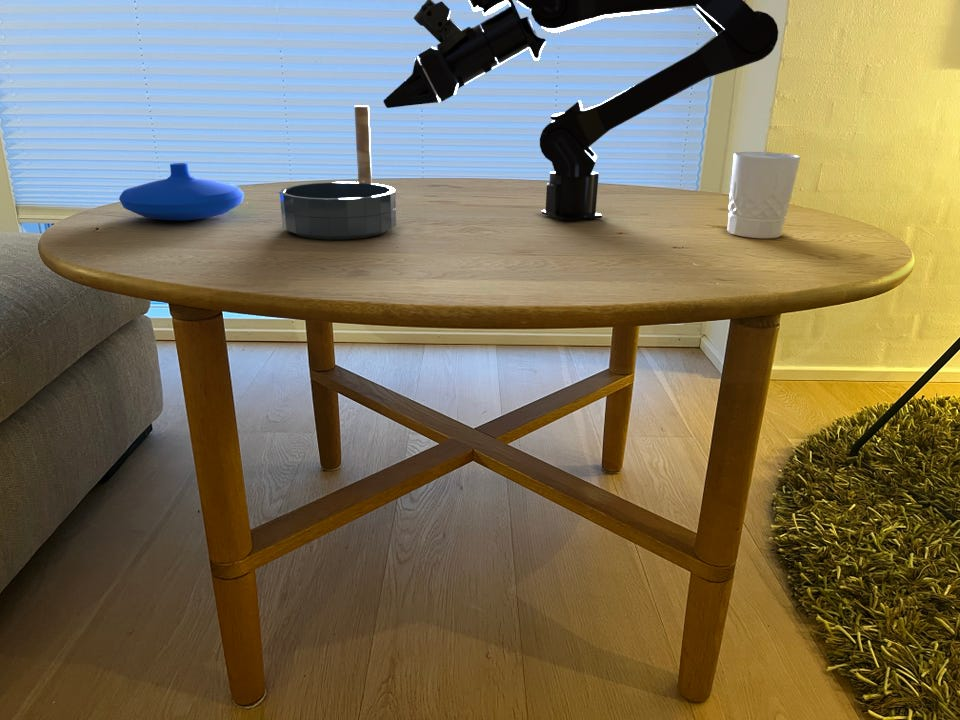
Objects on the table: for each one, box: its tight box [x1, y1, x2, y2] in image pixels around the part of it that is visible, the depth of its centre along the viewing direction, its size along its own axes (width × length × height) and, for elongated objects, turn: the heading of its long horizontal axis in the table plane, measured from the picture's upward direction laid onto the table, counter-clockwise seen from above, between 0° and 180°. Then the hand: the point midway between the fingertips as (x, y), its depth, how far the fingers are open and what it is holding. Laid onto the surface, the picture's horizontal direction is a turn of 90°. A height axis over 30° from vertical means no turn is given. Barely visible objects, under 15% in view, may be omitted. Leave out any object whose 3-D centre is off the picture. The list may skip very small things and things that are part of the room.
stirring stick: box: [354, 105, 373, 184], centre depth 111 cm, size 5×5×14 cm
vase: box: [118, 162, 245, 222], centre depth 94 cm, size 16×16×7 cm
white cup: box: [726, 151, 801, 240], centre depth 90 cm, size 8×8×10 cm
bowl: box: [279, 181, 397, 241], centre depth 89 cm, size 14×14×5 cm
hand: (389, 101), depth 97 cm, fingers open, 9 cm apart
